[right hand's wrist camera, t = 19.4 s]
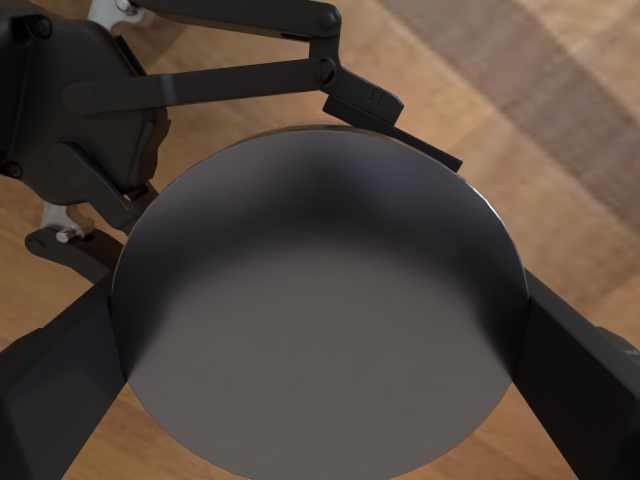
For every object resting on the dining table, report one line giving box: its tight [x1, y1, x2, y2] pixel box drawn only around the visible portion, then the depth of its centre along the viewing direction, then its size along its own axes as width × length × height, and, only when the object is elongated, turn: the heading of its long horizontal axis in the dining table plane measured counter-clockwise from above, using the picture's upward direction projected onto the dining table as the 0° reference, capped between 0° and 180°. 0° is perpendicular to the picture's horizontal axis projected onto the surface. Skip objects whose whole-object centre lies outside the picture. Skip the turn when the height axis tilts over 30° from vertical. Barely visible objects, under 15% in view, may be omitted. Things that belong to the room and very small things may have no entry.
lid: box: [110, 124, 529, 480], centre depth 11 cm, size 11×11×2 cm
